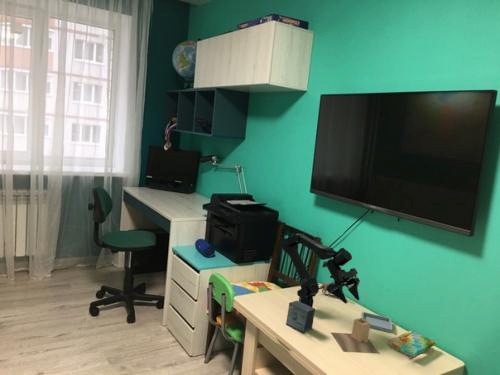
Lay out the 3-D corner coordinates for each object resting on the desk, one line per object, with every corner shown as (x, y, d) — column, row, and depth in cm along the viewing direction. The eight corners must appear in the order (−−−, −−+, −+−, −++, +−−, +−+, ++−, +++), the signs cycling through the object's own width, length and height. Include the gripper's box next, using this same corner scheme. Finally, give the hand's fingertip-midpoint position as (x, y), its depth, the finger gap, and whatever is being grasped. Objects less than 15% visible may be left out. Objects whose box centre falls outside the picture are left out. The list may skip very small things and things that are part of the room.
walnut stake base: (343, 353, 166) (345, 342, 166) (329, 334, 182) (331, 323, 181) (379, 355, 169) (381, 344, 168) (363, 336, 184) (365, 325, 184)
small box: (312, 330, 184) (316, 308, 182) (304, 334, 179) (307, 311, 177) (293, 321, 191) (297, 299, 189) (285, 324, 186) (288, 302, 184)
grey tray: (360, 327, 194) (361, 322, 193) (361, 316, 207) (362, 311, 207) (391, 335, 190) (392, 330, 189) (390, 323, 203) (390, 318, 203)
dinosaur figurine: (341, 295, 232) (343, 280, 230) (340, 299, 226) (343, 283, 225) (317, 290, 235) (319, 274, 234) (316, 293, 229) (318, 278, 228)
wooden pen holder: (351, 336, 180) (354, 319, 179) (358, 334, 183) (361, 317, 182) (363, 343, 175) (366, 326, 174) (370, 341, 178) (373, 324, 177)
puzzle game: (388, 338, 176) (410, 328, 189) (386, 349, 176) (408, 338, 190) (414, 351, 167) (435, 340, 181) (412, 362, 168) (433, 350, 181)
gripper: (334, 264, 182) (352, 296, 175) (359, 260, 195) (376, 290, 187) (319, 276, 189) (335, 308, 182) (343, 272, 201) (360, 301, 194)
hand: (352, 301), depth 186 cm, fingers open, 9 cm apart
